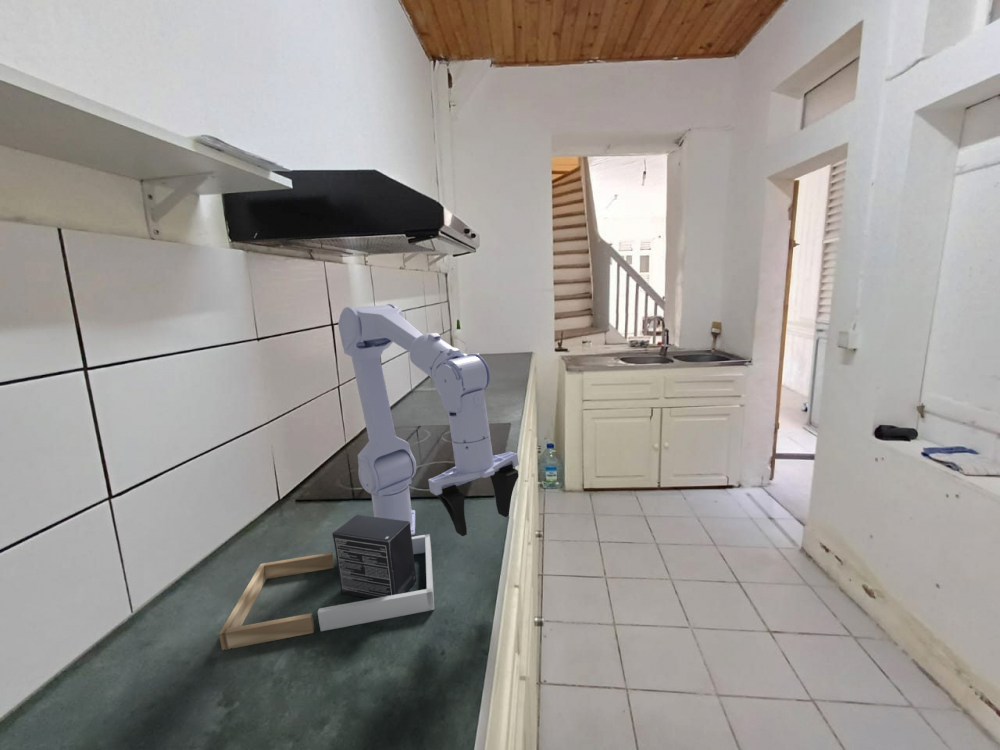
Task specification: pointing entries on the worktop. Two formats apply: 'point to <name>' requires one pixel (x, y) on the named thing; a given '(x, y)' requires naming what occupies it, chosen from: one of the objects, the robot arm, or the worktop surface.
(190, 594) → the worktop surface
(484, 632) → the worktop surface
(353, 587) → the small box
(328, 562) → the block
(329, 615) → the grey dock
